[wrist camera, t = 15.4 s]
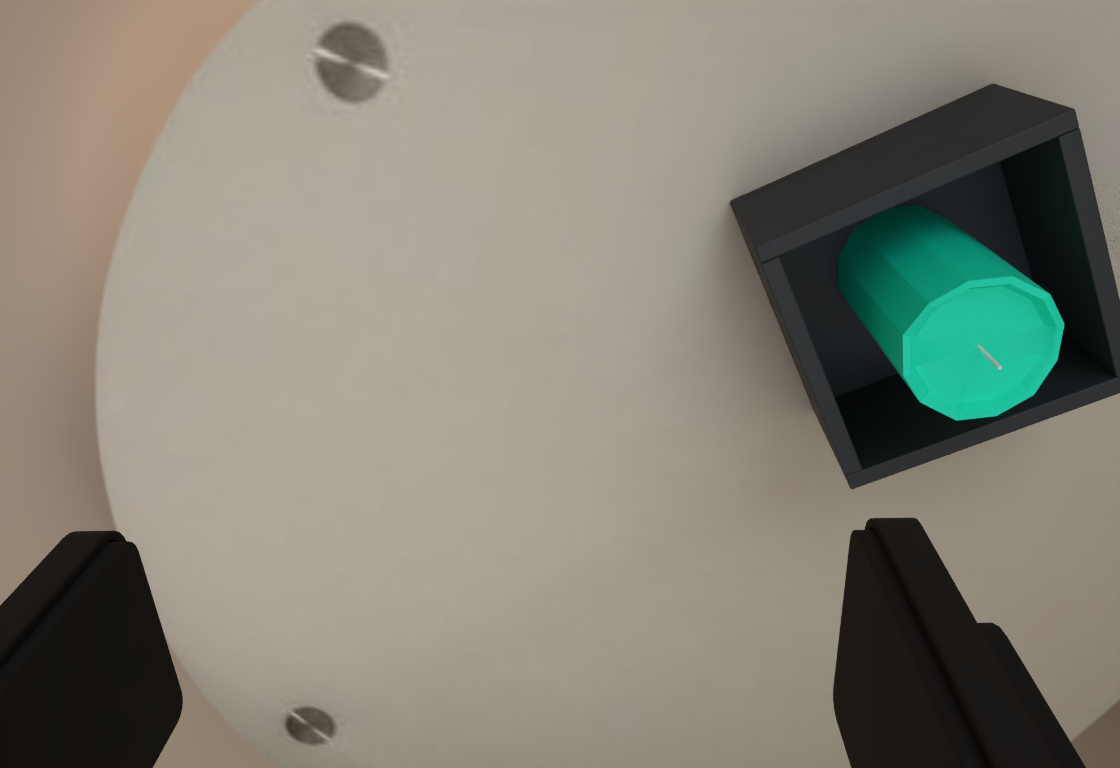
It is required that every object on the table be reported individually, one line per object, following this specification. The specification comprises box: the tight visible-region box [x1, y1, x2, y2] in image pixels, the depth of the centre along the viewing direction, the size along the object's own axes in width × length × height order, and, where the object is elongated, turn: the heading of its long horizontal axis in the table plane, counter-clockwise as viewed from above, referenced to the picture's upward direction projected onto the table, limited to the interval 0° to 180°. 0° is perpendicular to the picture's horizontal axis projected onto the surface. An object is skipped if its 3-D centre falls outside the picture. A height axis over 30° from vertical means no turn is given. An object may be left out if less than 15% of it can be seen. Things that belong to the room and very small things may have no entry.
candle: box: [838, 205, 1065, 421], centre depth 37 cm, size 6×6×12 cm
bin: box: [730, 84, 1120, 489], centre depth 40 cm, size 13×13×8 cm
